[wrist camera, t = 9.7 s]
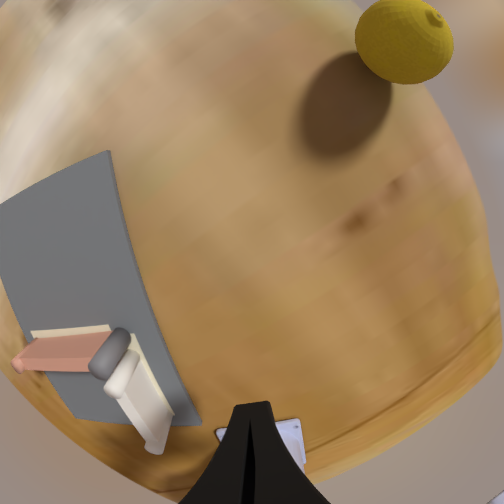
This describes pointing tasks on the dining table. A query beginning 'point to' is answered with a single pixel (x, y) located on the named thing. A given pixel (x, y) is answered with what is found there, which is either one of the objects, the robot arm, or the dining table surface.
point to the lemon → (404, 41)
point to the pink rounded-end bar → (75, 353)
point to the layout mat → (90, 297)
